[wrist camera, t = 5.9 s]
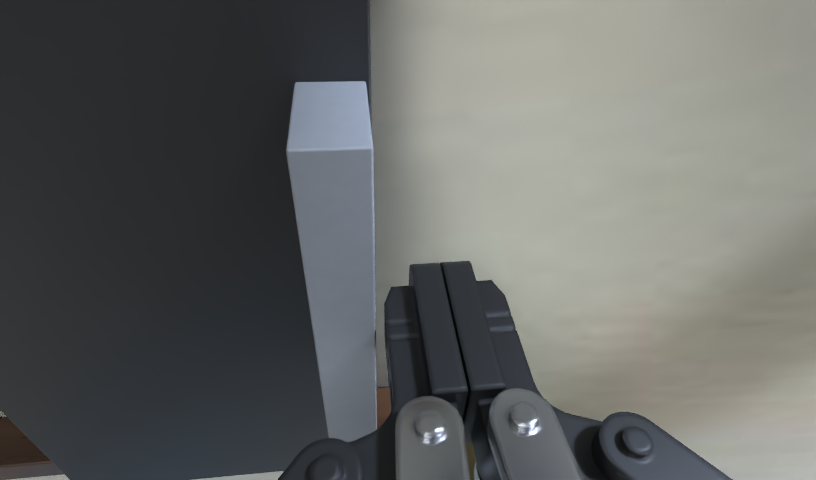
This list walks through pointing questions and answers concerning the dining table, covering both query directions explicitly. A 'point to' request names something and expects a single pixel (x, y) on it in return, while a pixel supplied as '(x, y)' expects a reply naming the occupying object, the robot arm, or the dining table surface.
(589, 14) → the dining table surface
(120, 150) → the lid
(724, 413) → the dining table surface
